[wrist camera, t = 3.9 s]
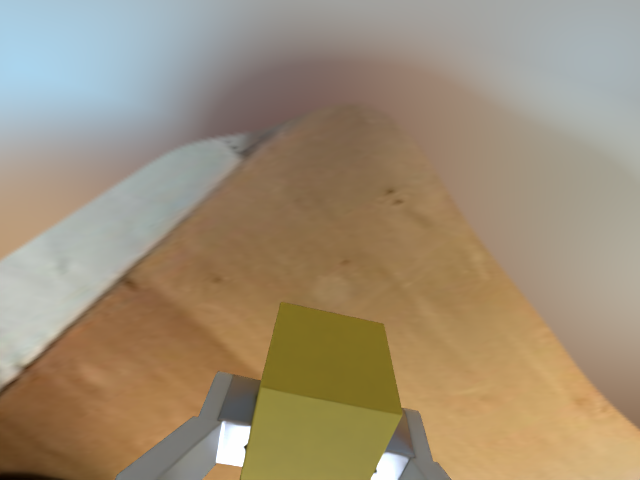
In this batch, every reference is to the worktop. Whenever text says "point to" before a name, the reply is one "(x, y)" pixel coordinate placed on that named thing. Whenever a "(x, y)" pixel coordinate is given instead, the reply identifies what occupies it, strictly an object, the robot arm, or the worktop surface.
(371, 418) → the yellow block
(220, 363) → the worktop surface
